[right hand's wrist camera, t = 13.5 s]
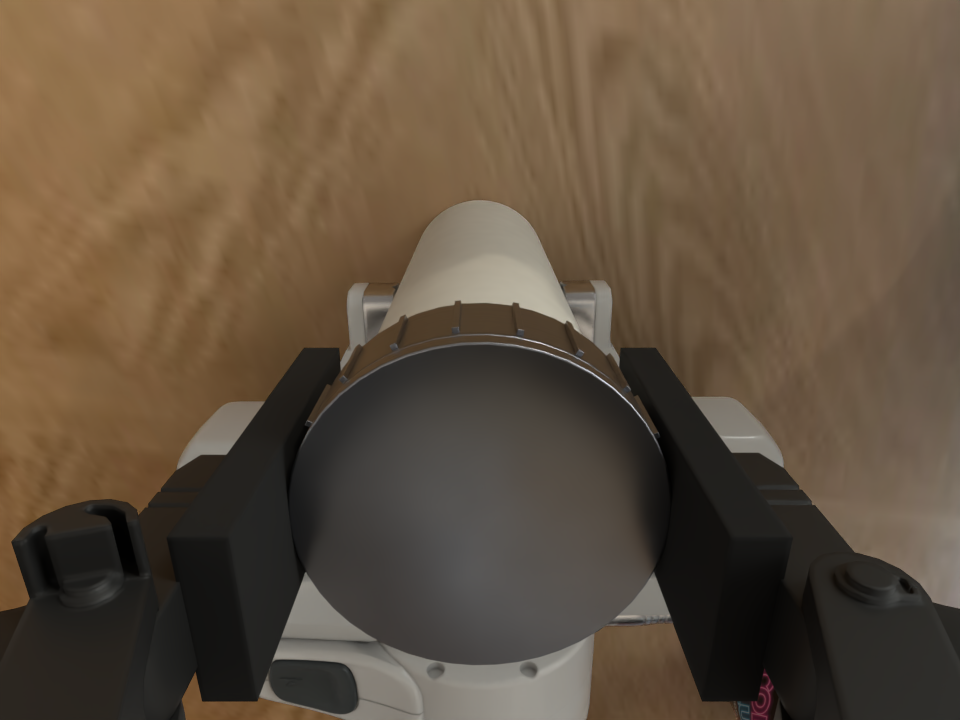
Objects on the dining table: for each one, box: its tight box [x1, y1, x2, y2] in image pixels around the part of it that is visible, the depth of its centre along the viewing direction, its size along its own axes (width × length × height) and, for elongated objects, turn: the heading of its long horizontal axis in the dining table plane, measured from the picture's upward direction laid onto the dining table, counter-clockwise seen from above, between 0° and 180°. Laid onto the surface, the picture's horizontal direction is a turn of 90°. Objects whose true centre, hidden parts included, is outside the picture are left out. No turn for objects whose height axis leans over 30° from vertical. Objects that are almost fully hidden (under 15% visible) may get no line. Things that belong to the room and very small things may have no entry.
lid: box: [288, 300, 672, 665], centre depth 11 cm, size 6×6×2 cm
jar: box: [378, 200, 581, 334], centre depth 19 cm, size 5×5×17 cm
